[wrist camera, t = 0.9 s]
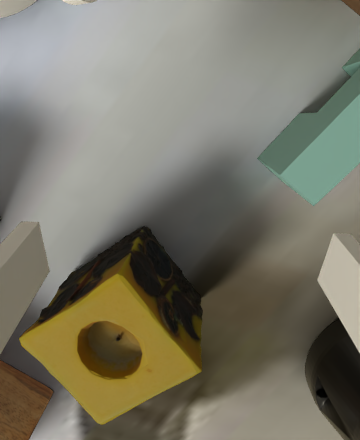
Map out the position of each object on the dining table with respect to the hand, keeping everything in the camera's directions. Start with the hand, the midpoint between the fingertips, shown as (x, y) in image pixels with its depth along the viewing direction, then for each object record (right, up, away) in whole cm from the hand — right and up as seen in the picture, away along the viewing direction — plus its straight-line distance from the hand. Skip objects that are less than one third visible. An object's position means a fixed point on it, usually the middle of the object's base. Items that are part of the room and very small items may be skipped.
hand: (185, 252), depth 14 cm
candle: (-5, -5, +17) cm, 19 cm away
